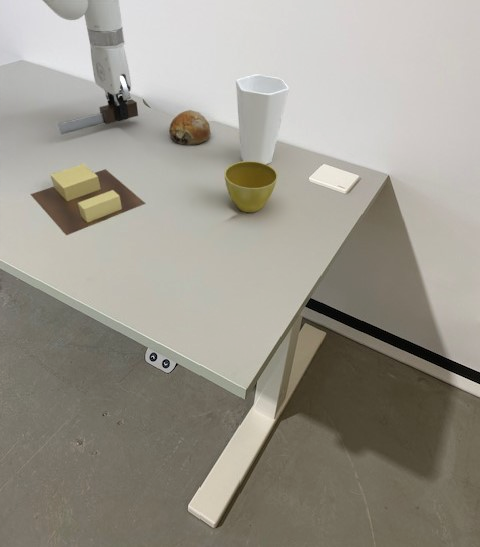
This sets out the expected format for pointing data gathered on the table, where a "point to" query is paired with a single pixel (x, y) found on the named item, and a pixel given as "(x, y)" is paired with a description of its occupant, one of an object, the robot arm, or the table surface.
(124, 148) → the table surface
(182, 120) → the bread roll
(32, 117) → the table surface
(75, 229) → the board
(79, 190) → the butter block
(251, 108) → the cup
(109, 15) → the robot arm
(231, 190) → the flower pot
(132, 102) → the knife
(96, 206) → the butter slice
